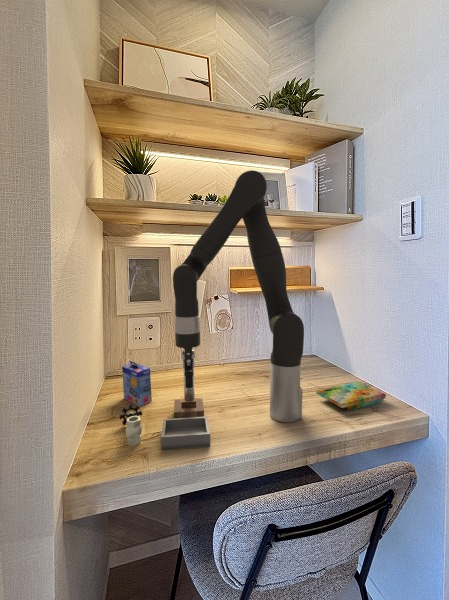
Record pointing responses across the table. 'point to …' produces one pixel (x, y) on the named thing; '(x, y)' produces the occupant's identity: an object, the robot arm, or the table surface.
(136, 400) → the ink cartridge box
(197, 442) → the tray
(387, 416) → the table surface
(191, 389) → the pin
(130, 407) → the valve
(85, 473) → the table surface
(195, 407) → the pin block
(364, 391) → the puzzle game
